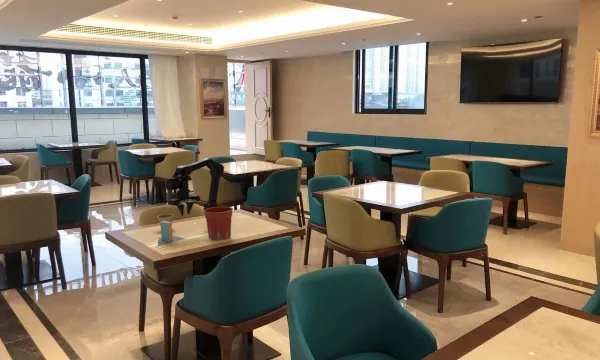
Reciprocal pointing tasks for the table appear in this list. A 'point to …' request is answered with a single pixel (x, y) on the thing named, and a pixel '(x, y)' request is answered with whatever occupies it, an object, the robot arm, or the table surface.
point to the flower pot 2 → (218, 222)
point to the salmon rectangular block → (166, 230)
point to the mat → (163, 242)
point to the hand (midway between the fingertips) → (185, 214)
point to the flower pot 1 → (165, 218)
